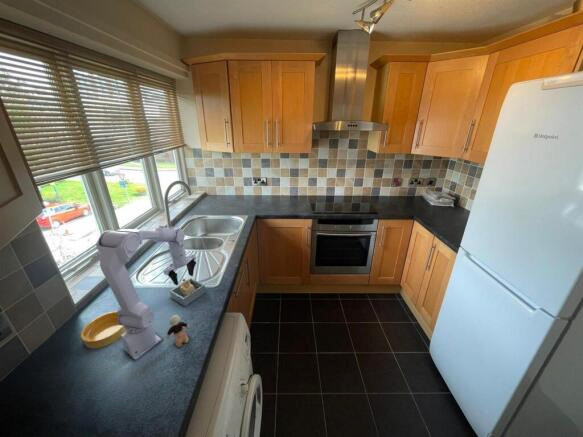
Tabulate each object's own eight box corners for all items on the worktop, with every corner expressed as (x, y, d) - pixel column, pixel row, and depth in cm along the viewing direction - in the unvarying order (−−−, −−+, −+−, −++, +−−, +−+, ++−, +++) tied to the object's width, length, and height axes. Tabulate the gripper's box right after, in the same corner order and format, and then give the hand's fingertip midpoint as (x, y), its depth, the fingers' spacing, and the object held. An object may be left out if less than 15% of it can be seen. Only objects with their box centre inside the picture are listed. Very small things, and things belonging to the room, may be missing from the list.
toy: (188, 298, 108) (184, 284, 105) (181, 294, 110) (178, 280, 107) (195, 293, 111) (192, 279, 108) (188, 289, 113) (186, 276, 110)
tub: (185, 306, 104) (183, 299, 102) (171, 297, 109) (169, 290, 107) (205, 291, 113) (204, 284, 111) (192, 284, 118) (190, 277, 116)
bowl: (94, 356, 82) (90, 348, 81) (78, 337, 89) (74, 330, 88) (137, 327, 93) (134, 320, 92) (119, 313, 100) (116, 306, 99)
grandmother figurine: (188, 333, 91) (181, 307, 86) (193, 338, 88) (187, 312, 84) (168, 347, 85) (160, 320, 80) (173, 353, 83) (165, 326, 78)
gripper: (187, 244, 109) (192, 269, 115) (156, 258, 98) (163, 285, 103) (196, 248, 106) (201, 273, 111) (166, 263, 95) (173, 291, 100)
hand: (183, 279), depth 107 cm, fingers open, 7 cm apart
